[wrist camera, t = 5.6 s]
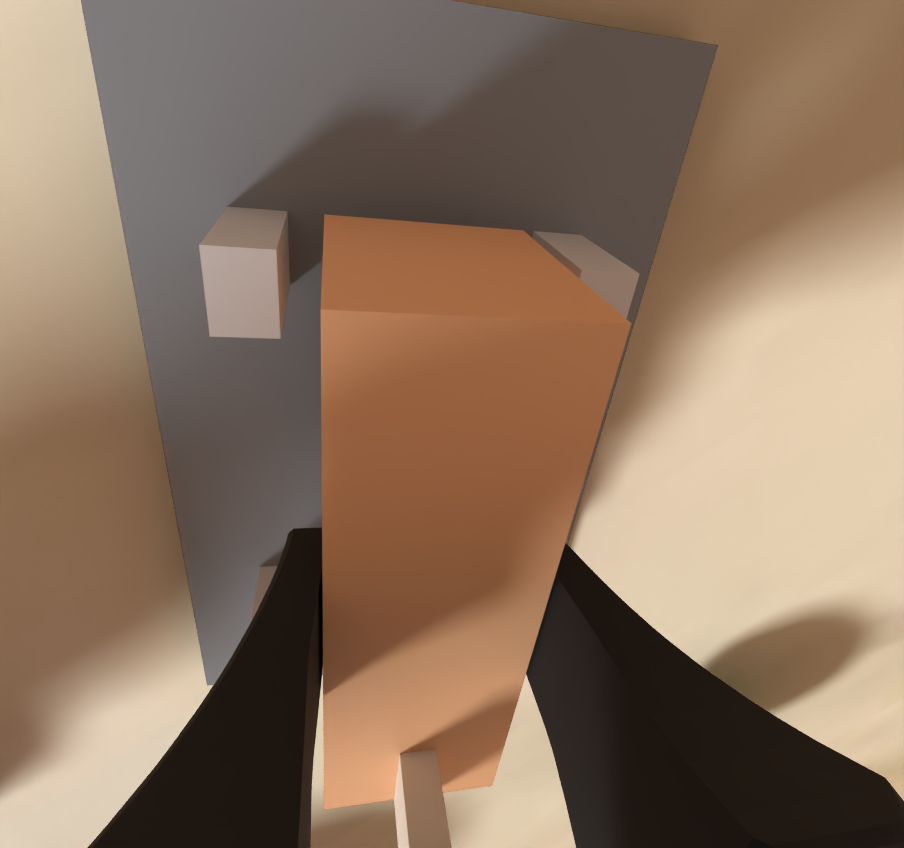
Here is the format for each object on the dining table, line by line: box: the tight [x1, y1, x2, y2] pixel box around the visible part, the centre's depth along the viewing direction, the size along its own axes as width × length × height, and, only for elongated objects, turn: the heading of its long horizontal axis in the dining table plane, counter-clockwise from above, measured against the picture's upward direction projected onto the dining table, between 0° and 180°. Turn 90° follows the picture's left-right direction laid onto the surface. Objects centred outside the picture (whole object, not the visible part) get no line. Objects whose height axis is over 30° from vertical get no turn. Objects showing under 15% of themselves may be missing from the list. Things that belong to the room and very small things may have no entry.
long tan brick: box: [321, 214, 631, 848], centre depth 11 cm, size 12×4×7 cm, turn 173°
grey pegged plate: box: [81, 0, 718, 685], centre depth 15 cm, size 20×12×4 cm, turn 173°
